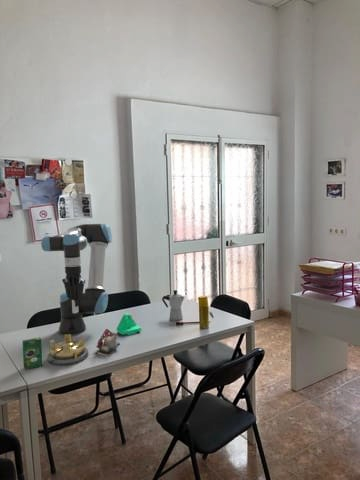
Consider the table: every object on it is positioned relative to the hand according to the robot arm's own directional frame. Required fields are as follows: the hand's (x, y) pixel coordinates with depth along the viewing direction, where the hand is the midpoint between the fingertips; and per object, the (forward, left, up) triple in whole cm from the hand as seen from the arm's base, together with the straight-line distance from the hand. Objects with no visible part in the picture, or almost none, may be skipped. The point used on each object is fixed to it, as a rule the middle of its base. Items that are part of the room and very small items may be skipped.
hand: (75, 312), depth 192 cm
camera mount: (+5, +34, -21) cm, 40 cm away
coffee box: (-5, -22, -21) cm, 31 cm away
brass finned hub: (+1, -7, -18) cm, 19 cm away
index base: (+1, -7, -20) cm, 21 cm away
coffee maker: (+15, +67, -21) cm, 72 cm away
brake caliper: (+12, +9, -21) cm, 25 cm away
